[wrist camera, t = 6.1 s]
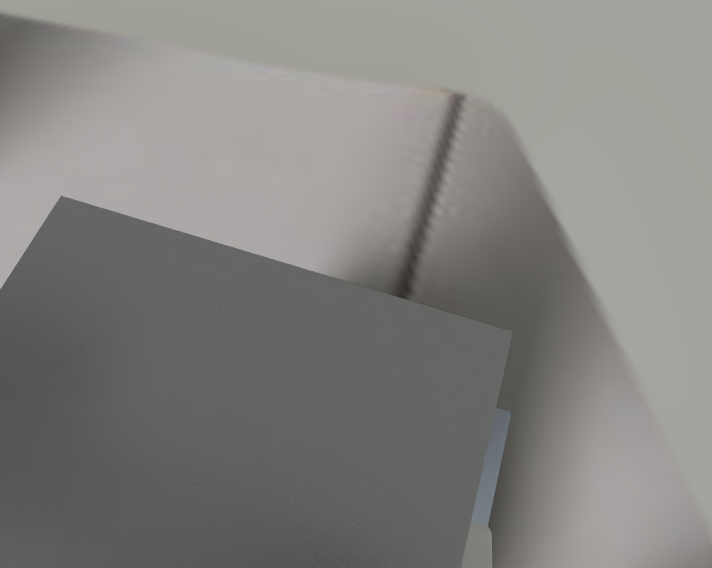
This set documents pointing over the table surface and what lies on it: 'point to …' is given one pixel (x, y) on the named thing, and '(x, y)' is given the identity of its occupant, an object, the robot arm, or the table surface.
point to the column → (229, 409)
